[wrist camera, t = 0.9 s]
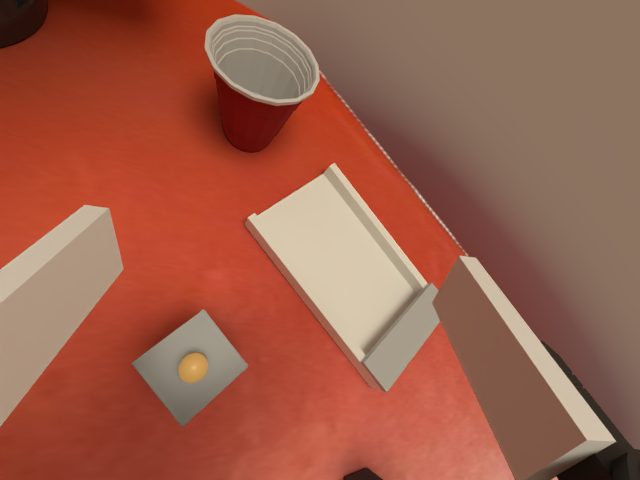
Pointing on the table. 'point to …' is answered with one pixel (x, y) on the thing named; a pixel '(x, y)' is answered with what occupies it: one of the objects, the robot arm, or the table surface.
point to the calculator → (363, 475)
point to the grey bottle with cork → (190, 367)
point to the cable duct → (349, 275)
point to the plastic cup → (258, 77)
